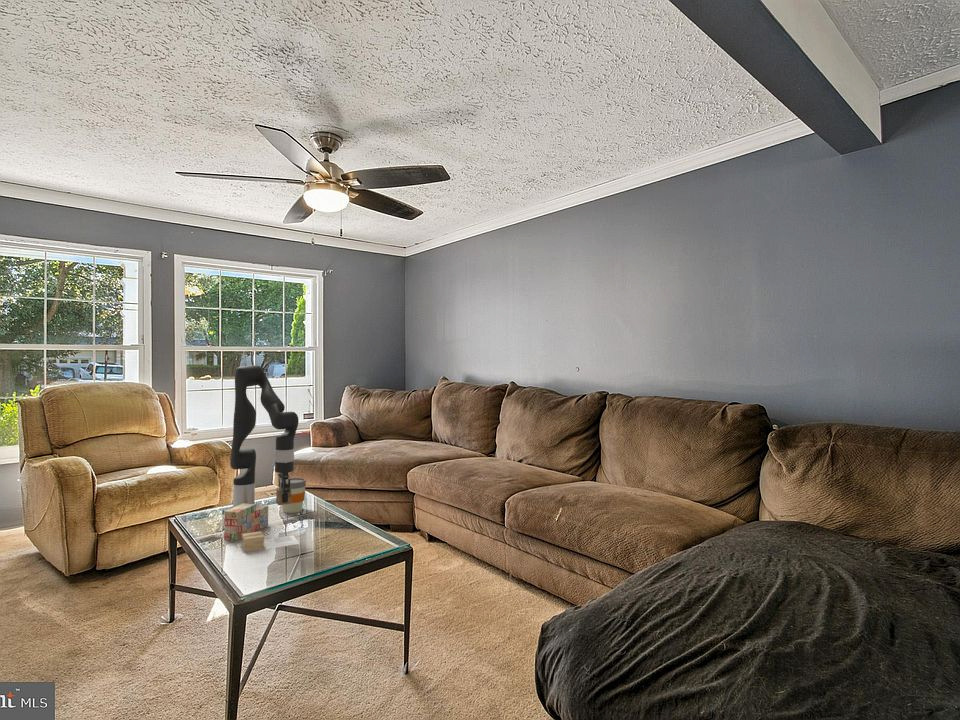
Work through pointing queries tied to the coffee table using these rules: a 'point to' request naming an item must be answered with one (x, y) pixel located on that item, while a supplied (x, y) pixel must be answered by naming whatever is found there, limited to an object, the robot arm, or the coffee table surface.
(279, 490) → the walnut block
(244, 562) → the coffee table surface
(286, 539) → the white board
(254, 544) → the oak block
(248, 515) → the stack of blocks
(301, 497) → the reusable coffee cup
